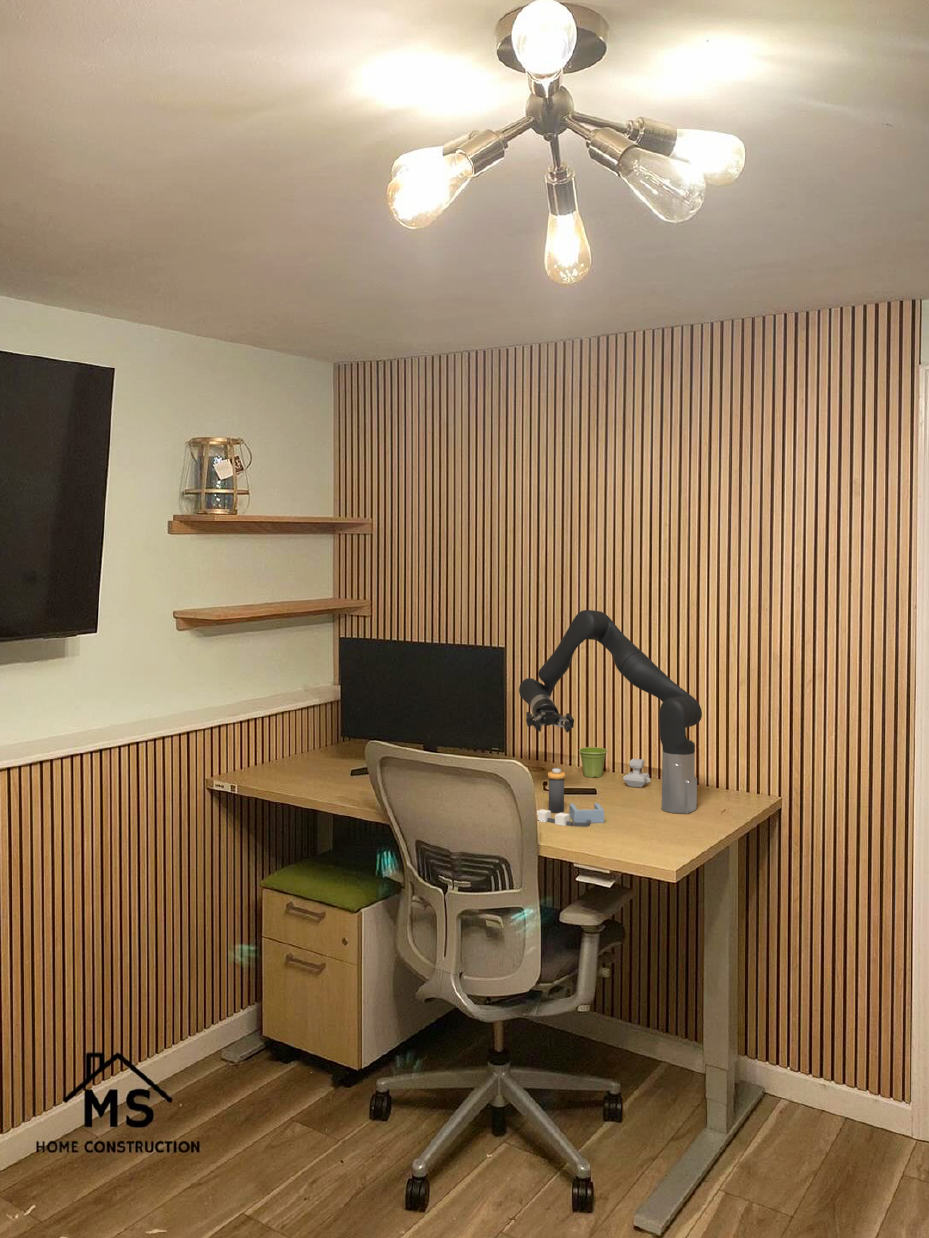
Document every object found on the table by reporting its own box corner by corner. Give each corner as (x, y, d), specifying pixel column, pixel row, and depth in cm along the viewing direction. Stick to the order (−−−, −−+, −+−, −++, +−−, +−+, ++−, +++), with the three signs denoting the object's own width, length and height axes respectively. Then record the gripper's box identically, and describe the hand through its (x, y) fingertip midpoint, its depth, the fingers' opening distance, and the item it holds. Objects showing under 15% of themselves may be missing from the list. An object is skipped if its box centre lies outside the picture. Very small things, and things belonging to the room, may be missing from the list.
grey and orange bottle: (568, 810, 294) (568, 768, 293) (559, 814, 290) (559, 771, 289) (553, 807, 297) (553, 766, 296) (544, 811, 293) (544, 769, 292)
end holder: (569, 814, 290) (569, 802, 289) (597, 814, 290) (598, 802, 290) (574, 823, 281) (574, 810, 281) (604, 822, 282) (604, 810, 282)
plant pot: (598, 780, 330) (598, 754, 329) (573, 776, 335) (573, 750, 335) (612, 775, 337) (612, 749, 336) (587, 770, 343) (587, 745, 342)
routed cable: (593, 823, 281) (593, 814, 281) (581, 829, 275) (581, 820, 275) (547, 814, 290) (547, 805, 289) (534, 820, 284) (534, 811, 284)
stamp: (620, 787, 321) (620, 760, 321) (625, 782, 327) (626, 756, 327) (647, 790, 318) (648, 763, 317) (653, 785, 324) (653, 759, 323)
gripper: (522, 697, 315) (531, 716, 299) (567, 699, 317) (578, 717, 301) (520, 720, 317) (529, 740, 301) (565, 721, 319) (576, 741, 303)
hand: (554, 728), depth 301 cm, fingers open, 8 cm apart
